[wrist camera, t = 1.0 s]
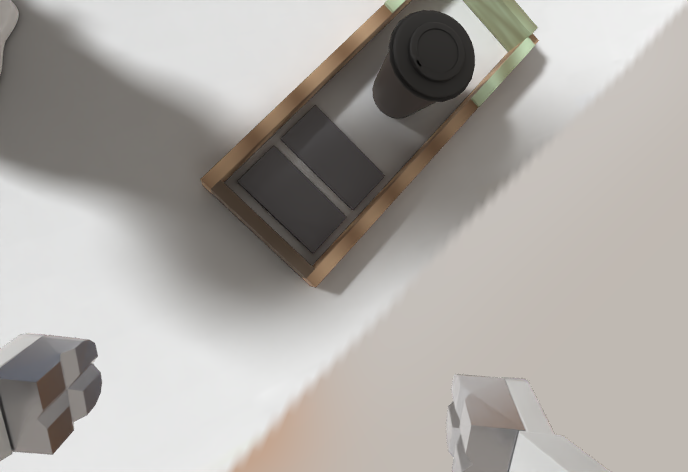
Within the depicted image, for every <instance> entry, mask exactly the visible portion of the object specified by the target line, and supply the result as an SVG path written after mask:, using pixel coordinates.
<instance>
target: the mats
mask: <svg viewBox="0 0 688 472" xmlns="http://www.w3.org/2000/svg"><path fill="white" fill-rule="evenodd" d="M281 140H282V141H283V142H284V143H285V144H286V145H287V146H288V147H289V148H290V149H291V150H292V151H293V152H294V153H295V154H296V155H297V156H298V157H299V158H300V159H301V160H302V161H303V162H304V163H305V164H306V165H307V166H308V167H309V168H310V169H311V170H312V171H313V172H314V173H315V174H316V175H317V176H318V177H319V178H320V179H321V180H322V181H323V182H324V183H325V184H326V185H327V186H328V187H329V188H330V189H331V190H332V191H334V192H335V193H336V194H337V195H338V196H339V197H340V198H341V199H342V200H343V201H344V202H345V203H346V204H347V205H348V206H349V207H350V208H351V209H352V210H354V209H355V208H356V206H357V205H358V204H359V203H360V202H361V201H362V200H363V199H364V198H365V197H366V196H367V195H368V193H369V192H370V191H371V190H372V189H373V188H374V187H375V186H376V185H377V184H378V183H379V182H380V180H381V179H382V178H383V177H384V176H385V175H384V174H383V173H382V172H381V171H380V170H379V169H378V168H377V167H376V166H375V165H374V164H373V163H372V162H371V161H370V160H369V159H368V158H367V157H366V156H365V155H364V154H363V153H362V152H361V151H360V150H359V149H358V148H357V147H356V146H355V145H354V144H353V143H352V142H351V140H350V139H349V138H348V137H347V136H346V135H345V134H344V133H343V132H342V131H341V130H340V129H339V128H338V127H337V126H336V125H335V124H334V123H333V122H332V121H331V120H330V119H329V118H328V117H327V116H326V115H325V114H324V113H323V112H322V111H321V110H320V109H319V108H318V107H317V106H316V105H315V106H314V107H313V108H312V109H311V110H310V111H309V112H308V113H307V114H306V115H304V116H303V117H302V118H301V119H300V120H299V121H298V122H297V123H296V124H295V125H294V126H293V127H292V128H291V129H290V130H289V131H288V132H287V133H286V134H285V135H284V136H283V137H282V138H281ZM237 182H238V183H239V184H240V185H241V186H242V187H243V188H244V189H246V190H247V191H248V192H249V193H250V194H251V195H252V196H253V197H254V198H255V199H256V200H257V201H258V202H259V203H260V204H261V205H262V206H263V207H264V208H266V209H267V210H268V211H269V212H270V213H271V214H272V215H273V216H274V217H275V218H276V219H277V220H278V221H279V222H280V223H281V224H282V225H283V226H284V227H285V228H287V229H288V230H289V231H290V232H291V233H292V234H293V235H294V236H295V237H296V238H297V239H298V240H299V241H300V242H301V243H302V244H303V245H304V246H305V247H307V248H308V249H309V250H310V251H311V252H312V253H314V252H315V251H316V250H317V249H318V248H319V246H320V245H321V244H322V243H323V242H324V241H325V240H326V239H327V238H328V237H329V236H330V235H331V233H332V232H333V231H334V230H335V229H336V228H337V227H338V226H339V225H340V224H341V223H342V222H343V220H344V219H345V218H346V216H345V215H344V214H343V213H342V212H341V211H340V210H339V209H338V208H337V207H336V206H335V205H334V204H333V203H332V202H331V201H330V200H329V199H328V198H327V197H326V196H325V195H324V194H323V193H322V192H321V191H320V190H319V189H318V188H317V187H316V186H315V185H314V184H313V183H312V182H311V181H310V180H309V179H308V178H307V177H306V176H305V175H303V174H302V173H301V172H300V171H299V170H298V169H297V168H296V167H295V166H294V165H293V164H292V163H291V162H290V161H289V160H288V159H287V158H286V157H285V156H284V155H283V154H282V153H281V152H280V151H279V150H278V149H277V148H276V147H275V146H273V147H272V148H271V149H270V150H269V151H268V152H267V153H266V154H265V155H264V156H263V157H262V158H261V159H260V160H258V161H257V162H256V163H255V164H254V165H253V166H252V167H251V168H250V169H249V170H248V171H247V172H246V173H245V174H244V175H243V176H242V177H241V178H240V179H239V180H238V181H237Z"/></svg>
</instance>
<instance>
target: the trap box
mask: <svg viewBox="0 0 688 472" xmlns="http://www.w3.org/2000/svg"><path fill="white" fill-rule="evenodd" d="M411 1H412V0H387V1H386V2H385V3H384V5H383V6H382V7H381V8H379V9H378V10H377V11H376V12H375V13H374V14H373V15H372V16H371V17H370V18H369V19H368V20H367V21H366V22H365V23H364V24H363V25H362V26H361V27H360V28H359V29H357V30H356V31H355V32H354V33H353V34H352V35H351V36H350V37H349V38H348V39H347V40H346V41H345V42H344V43H343V44H342V45H341V46H340V47H339V48H338V49H336V50H335V51H334V52H333V53H332V54H331V55H330V56H329V57H328V58H327V59H326V60H325V61H324V62H323V63H322V64H321V65H320V66H319V67H318V68H317V69H316V70H314V71H313V72H312V73H311V74H310V75H309V76H308V77H307V78H306V79H305V80H304V81H303V82H302V83H301V84H300V85H299V86H298V87H297V88H296V89H295V90H293V91H292V92H291V93H290V94H289V95H288V96H287V97H286V98H285V99H284V100H283V101H282V102H281V103H280V104H279V105H278V106H277V107H276V108H275V109H274V110H272V111H271V112H270V113H269V114H268V115H267V116H266V117H265V118H264V119H263V120H262V121H261V122H260V123H259V124H258V125H257V126H256V127H255V128H254V129H253V130H252V131H250V132H249V133H248V134H247V135H246V136H245V137H244V138H243V139H242V140H241V141H240V142H239V143H238V144H237V145H236V146H235V147H234V148H233V149H232V150H231V151H229V152H228V153H227V154H226V155H225V156H224V157H223V158H222V159H221V160H220V161H219V162H218V163H217V164H216V165H215V166H214V167H213V168H212V169H211V170H210V171H209V172H207V173H206V174H205V175H204V176H203V177H202V178H201V179H200V180H201V183H202V185H203V186H204V187H205V188H206V189H207V190H208V191H209V192H210V193H211V194H212V195H214V196H215V197H216V198H217V199H218V200H219V201H220V202H221V203H222V204H223V205H224V206H225V207H226V208H227V209H229V210H230V211H231V212H232V213H233V214H234V215H235V216H236V217H237V218H238V219H239V220H240V221H241V222H242V223H243V224H245V225H246V226H247V227H248V228H249V229H250V230H251V231H252V232H253V233H254V234H255V235H256V236H257V237H258V238H260V239H261V240H262V241H263V242H264V243H265V244H266V245H267V246H268V247H269V248H270V249H271V250H272V251H273V252H274V253H276V254H277V255H278V256H279V257H280V258H281V259H282V260H283V261H284V262H285V263H286V264H287V265H288V266H289V267H291V268H292V269H293V270H294V271H295V272H296V273H297V274H298V275H299V276H300V277H301V278H302V279H303V280H304V281H305V282H307V283H308V284H309V285H310V286H312V287H315V288H316V287H317V286H318V284H319V283H320V282H321V281H322V280H323V279H324V278H325V277H326V276H327V275H328V273H329V272H330V271H331V270H332V269H333V268H334V267H335V266H336V265H337V263H338V262H339V261H340V260H341V259H342V258H343V257H344V256H345V255H346V253H347V252H348V251H349V250H350V249H351V248H352V247H353V246H354V245H355V244H356V242H357V241H358V240H359V239H360V238H361V237H362V236H363V235H364V234H365V232H366V231H367V230H368V229H369V228H370V227H371V226H372V225H373V224H374V222H375V221H376V220H377V219H378V218H379V217H380V216H381V215H382V214H383V213H384V211H385V210H386V209H387V208H388V207H389V206H390V205H391V204H392V203H393V201H394V200H395V199H396V198H397V197H398V196H399V195H400V194H401V193H402V191H403V190H404V189H405V188H406V187H407V186H408V185H409V184H410V183H411V182H412V180H413V179H414V178H415V177H416V176H417V175H418V174H419V173H420V172H421V170H422V169H423V168H424V167H425V166H426V165H427V164H428V163H429V162H430V160H431V159H432V158H433V157H434V156H435V155H436V154H437V153H438V152H439V151H440V149H441V148H442V147H443V146H444V145H445V144H446V143H447V142H448V141H449V139H450V138H451V137H452V136H453V135H454V134H455V133H456V132H457V131H458V129H459V128H460V127H461V126H462V125H463V124H464V123H465V122H466V121H467V120H468V118H469V117H470V116H471V115H472V114H473V113H474V112H475V111H476V110H477V108H478V107H480V106H481V105H482V104H483V103H484V101H485V100H486V99H487V98H488V97H489V96H490V95H491V94H492V93H493V91H494V90H495V89H496V88H497V87H498V86H499V85H500V84H501V83H502V81H503V80H504V79H505V78H506V77H507V76H508V75H509V74H510V73H511V72H512V70H513V69H514V68H515V67H516V66H517V65H518V64H519V63H520V62H521V60H522V59H523V58H524V57H525V56H526V55H527V54H528V53H529V52H530V50H531V49H532V48H533V47H534V46H535V44H536V43H537V42H538V41H539V40H538V39H537V38H536V37H535V36H534V34H533V32H534V31H535V30H536V29H537V28H538V27H537V26H536V25H535V24H534V23H533V21H532V20H531V19H530V18H529V17H528V16H527V14H526V13H525V12H524V11H523V10H522V9H521V7H520V6H519V5H518V4H517V3H516V2H515V0H463V1H464V2H465V3H466V4H467V6H468V7H469V8H470V9H471V10H472V11H473V12H474V14H475V15H476V16H477V17H478V18H479V19H480V20H481V21H482V23H483V24H484V25H485V26H486V27H487V28H488V29H489V31H490V32H491V33H492V34H493V35H494V36H495V37H496V39H497V40H498V41H499V42H500V43H501V44H502V45H503V47H504V48H505V49H506V50H507V51H508V53H507V54H506V55H505V56H504V57H503V58H502V60H501V61H500V62H499V63H498V64H497V65H496V66H495V67H494V68H493V69H492V70H491V71H490V73H489V74H488V75H487V76H486V77H485V78H484V79H483V80H482V81H481V82H480V83H479V85H478V86H477V87H476V88H475V89H474V90H473V91H472V92H471V93H470V94H469V95H468V97H467V98H466V99H465V100H464V101H463V102H462V103H461V104H460V105H459V106H458V107H457V109H456V110H455V111H454V112H453V113H452V114H451V115H450V116H449V117H448V118H447V119H446V121H445V122H444V123H443V124H442V125H441V126H440V127H439V128H438V129H437V130H436V131H435V132H434V134H433V135H432V136H431V137H430V138H429V139H428V140H427V141H426V142H425V143H424V144H423V146H422V147H421V148H420V149H419V150H418V151H417V152H416V153H415V154H414V155H413V156H412V158H411V159H410V160H409V161H408V162H407V163H406V164H405V165H404V166H403V167H402V168H401V170H400V171H399V172H398V173H397V174H396V175H395V176H394V177H393V178H392V179H391V180H390V181H389V183H388V184H387V185H386V186H385V187H384V188H383V189H382V190H381V191H380V192H379V193H378V195H377V196H376V197H375V198H374V199H373V200H372V201H371V202H370V203H369V204H368V205H367V207H366V208H365V209H364V210H363V211H362V212H361V213H360V214H359V215H358V216H357V217H356V219H355V220H354V221H353V222H352V223H351V224H350V225H349V226H348V227H347V228H346V229H345V230H344V232H343V233H342V234H341V235H340V236H339V237H338V238H337V239H336V240H335V241H334V242H333V244H332V245H331V246H330V247H329V248H328V249H327V250H326V251H325V252H324V253H323V254H322V256H321V257H320V258H319V259H318V260H317V261H316V262H315V263H314V264H313V265H312V266H311V265H310V264H309V263H308V262H307V261H306V260H305V259H304V258H303V257H302V256H301V255H300V254H299V253H298V252H297V251H295V250H294V249H293V248H292V247H291V246H290V245H289V244H288V243H287V242H286V241H285V240H284V239H283V238H282V237H281V236H280V235H279V234H278V233H276V232H275V231H274V230H273V229H272V228H271V227H270V226H269V225H268V224H267V223H266V222H265V221H264V220H263V219H262V218H261V217H260V216H258V215H257V214H256V213H255V212H254V211H253V210H252V209H251V208H250V207H249V206H248V205H247V204H246V203H245V202H244V201H243V200H242V199H240V198H239V197H238V196H237V195H236V194H235V193H234V192H233V191H232V190H231V189H230V188H229V187H228V186H227V185H226V184H225V183H224V182H225V181H226V180H227V179H228V178H229V177H230V176H231V175H232V174H233V173H234V172H235V171H237V170H238V169H239V168H240V167H241V166H242V165H243V164H244V163H245V162H246V161H247V160H248V159H249V158H250V157H251V156H252V155H253V154H254V153H255V152H256V151H257V150H258V149H259V148H260V147H261V146H262V145H263V144H264V143H265V142H266V141H267V140H268V139H269V138H271V137H272V136H273V135H274V134H275V133H276V132H277V131H278V130H279V129H280V128H281V127H282V126H283V125H284V124H285V123H286V122H287V121H288V120H289V119H290V118H291V117H292V116H293V115H294V114H295V113H296V112H297V111H298V110H299V109H300V108H301V107H302V106H303V105H305V104H306V103H307V102H308V101H309V100H310V99H311V98H312V97H313V96H314V95H315V94H316V93H317V92H318V91H319V90H320V89H321V88H322V87H323V86H324V85H325V84H326V83H327V82H328V81H329V80H330V79H331V78H332V77H333V76H334V75H335V74H336V73H338V72H339V71H340V70H341V69H342V68H343V67H344V66H345V65H346V64H347V63H348V62H349V61H350V60H351V59H352V58H353V57H354V56H355V55H356V54H357V53H358V52H359V51H360V50H361V49H362V48H363V47H364V46H365V45H366V44H367V43H368V42H369V41H370V40H372V39H373V38H374V37H375V36H376V35H377V34H378V33H379V32H380V31H381V30H382V29H383V28H384V27H385V26H386V25H387V24H388V23H389V22H390V21H391V20H392V19H393V18H394V17H395V16H396V15H397V14H398V13H399V12H400V11H401V10H402V9H403V8H404V7H406V6H407V5H408V4H409V3H410V2H411Z"/></svg>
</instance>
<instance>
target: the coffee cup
mask: <svg viewBox="0 0 688 472" xmlns="http://www.w3.org/2000/svg"><path fill="white" fill-rule="evenodd" d="M474 66H475V55H474V49H473V45H472V42H471V40H470V38H469V36H468V34H467V32H466V31H465V29H464V28H463V27H462V26H461V25H460V24H459V23H458V22H457V21H456V20H455V19H453V18H452V17H450V16H448V15H446V14H444V13H441V12H437V11H425V10H423V11H419V12H415V13H411V14H409V15H408V16H406V17H405V18H404V19H402V20H401V21H400V22H399V23H398V25H397V26H396V28H395V29H394V31H393V32H392V36H391V39H390V43H389V52H388V54H387V56H386V58H385V60H384V62H383V64H382V66H381V68H380V71H379V73H378V75H377V77H376V79H375V81H374V85H373V88H372V90H373V98H374V101H375V104H376V105H377V107H378V108H379V109H380V111H382V112H383V113H384V114H386V115H387V116H390V117H393V118H404V117H407V116H409V115H411V114H413V113H415V112H417V111H419V110H421V109H423V108H425V107H427V106H429V105H431V104H433V103H435V102H443V101H446V100H450V99H453V98H455V97H456V96H458V95H459V94H460V93H462V92H463V91H464V90H465V89H466V87H467V86H468V84H469V82H470V81H471V79H472V75H473V71H474Z"/></svg>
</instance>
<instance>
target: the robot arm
mask: <svg viewBox="0 0 688 472" xmlns="http://www.w3.org/2000/svg"><path fill="white" fill-rule="evenodd" d="M18 18H19V12H18V9H17V7H16V6H15V4H14V3H13V2H12V1H11V0H0V74H1V70H2V61H3V50H4V45H5V41H6V40H7V38H8V37H9V35H10V34H11V32H12V31H13V29H14V27H15V25H16V23H17V21H18ZM97 357H98V354H97V350H96V345H95V343H94V342H92V341H91V340H88V339H80V338H71V337H62V336H54V335H44V334H33V333H26V334H20V335H19V336H17V337H16V338H14V339H13V340H11V341H10V342H9V343H7V344H6V345H4V346H3V347H2V348H0V461H1V460H3V459H4V458H6V457H8V456H9V455H11V454H12V452H25V453H38V454H51V455H53V454H54V452H55V451H56V450H57V449H58V448H59V447H60V446H61V444H62V443H63V442H64V441H65V440H66V439H67V438H68V437H69V435H70V434H71V433H72V432H73V431H74V422H75V421H77V420H78V419H80V418H82V417H84V416H86V415H88V413H89V412H90V411H91V410H92V409H93V407H94V406H95V405H96V402H97V400H98V398H99V395H100V393H101V386H102V379H101V372H100V371H99V370H98V369H97V368H96V367H95V366H94V364H93V362H94V361H95V359H96V358H97ZM451 391H452V396H453V400H454V401H453V402H452V403H451V404H450V405H449V406H448V412H447V420H446V436H447V444H448V451H449V453H450V454H451V455H452V456H453V457H454V460H453V466H452V472H611V471H609V470H608V469H607V468H606V467H604V466H603V465H602V464H600V463H599V462H598V461H596V460H595V459H593V458H592V457H591V456H590V455H588V454H587V453H586V452H584V451H583V450H582V449H580V448H579V447H578V446H576V445H575V444H574V443H572V442H571V441H570V440H568V439H567V438H566V437H564V436H563V435H557V434H555V433H554V431H553V429H552V427H551V425H550V423H549V421H548V419H547V417H546V415H545V413H544V411H543V409H542V407H541V405H540V403H539V401H538V399H537V397H536V395H535V393H534V391H533V389H532V387H531V385H530V383H529V382H528V381H527V380H526V379H523V378H507V377H501V378H497V377H485V376H473V375H461V374H455V375H454V378H453V381H452V387H451Z"/></svg>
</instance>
